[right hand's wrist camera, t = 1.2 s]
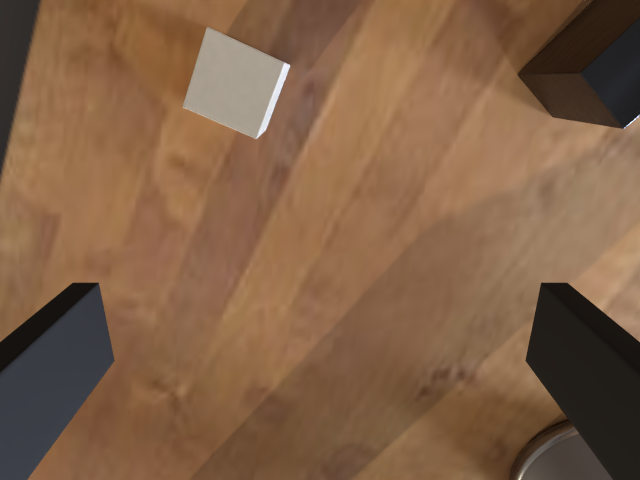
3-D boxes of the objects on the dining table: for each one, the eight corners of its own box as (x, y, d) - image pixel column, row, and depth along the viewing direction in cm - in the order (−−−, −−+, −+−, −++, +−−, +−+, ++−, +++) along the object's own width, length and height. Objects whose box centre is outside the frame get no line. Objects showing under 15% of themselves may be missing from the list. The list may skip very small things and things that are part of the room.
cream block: (290, 65, 31) (285, 62, 26) (265, 130, 32) (256, 139, 28) (224, 34, 30) (206, 26, 25) (202, 103, 32) (182, 107, 27)
